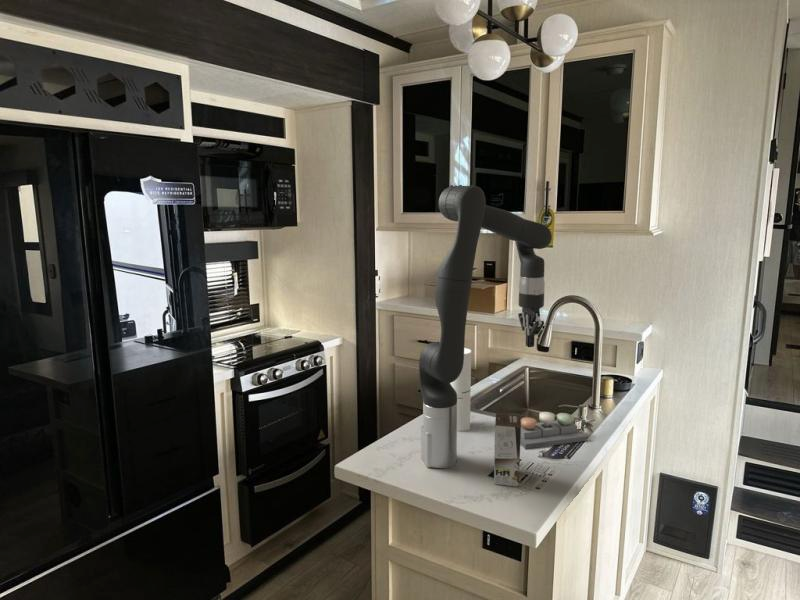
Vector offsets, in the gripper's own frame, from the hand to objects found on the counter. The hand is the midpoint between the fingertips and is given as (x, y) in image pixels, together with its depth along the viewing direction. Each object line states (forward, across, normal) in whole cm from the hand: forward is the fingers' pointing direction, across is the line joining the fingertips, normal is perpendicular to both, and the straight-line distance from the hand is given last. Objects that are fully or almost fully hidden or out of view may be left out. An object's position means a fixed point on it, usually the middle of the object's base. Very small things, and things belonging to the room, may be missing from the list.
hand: (529, 346), depth 168 cm
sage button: (+24, +8, +8) cm, 27 cm away
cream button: (+23, +8, +2) cm, 24 cm away
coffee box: (+26, +27, -20) cm, 43 cm away
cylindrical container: (+26, -6, -21) cm, 34 cm away
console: (+26, +8, +2) cm, 28 cm away
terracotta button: (+24, +8, -4) cm, 26 cm away
